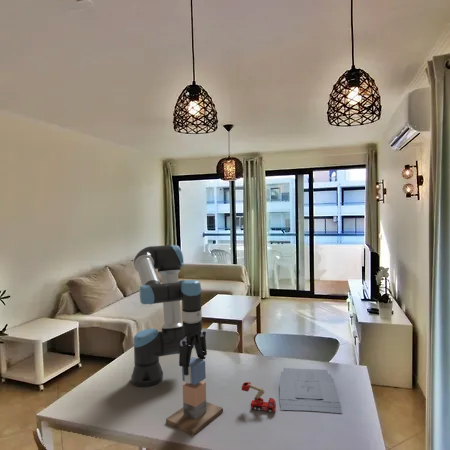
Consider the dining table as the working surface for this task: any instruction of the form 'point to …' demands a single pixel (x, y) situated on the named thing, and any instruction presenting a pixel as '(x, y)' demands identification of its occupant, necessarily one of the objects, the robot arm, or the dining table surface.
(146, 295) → the robot arm
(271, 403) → the toy fire truck
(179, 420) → the board
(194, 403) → the terracotta brick
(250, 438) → the dining table surface
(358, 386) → the dining table surface
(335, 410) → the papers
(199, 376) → the slate blue brick
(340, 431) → the dining table surface
